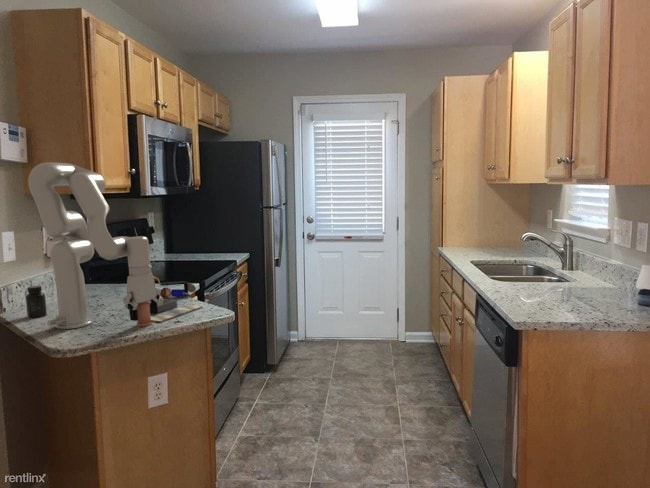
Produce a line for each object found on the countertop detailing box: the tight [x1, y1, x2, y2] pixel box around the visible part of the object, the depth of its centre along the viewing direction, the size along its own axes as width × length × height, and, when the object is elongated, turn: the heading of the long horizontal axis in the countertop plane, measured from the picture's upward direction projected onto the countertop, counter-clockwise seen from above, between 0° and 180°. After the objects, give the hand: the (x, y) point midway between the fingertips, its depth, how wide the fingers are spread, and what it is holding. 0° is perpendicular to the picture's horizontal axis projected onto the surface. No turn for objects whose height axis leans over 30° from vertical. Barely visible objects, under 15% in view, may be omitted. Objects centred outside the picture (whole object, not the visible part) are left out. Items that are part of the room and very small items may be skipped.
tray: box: [135, 298, 178, 315], centre depth 214 cm, size 12×12×3 cm
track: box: [150, 304, 204, 324], centre depth 205 cm, size 24×8×1 cm, turn 154°
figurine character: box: [159, 280, 197, 299], centre depth 236 cm, size 7×8×15 cm
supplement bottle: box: [25, 285, 48, 319], centre depth 210 cm, size 7×7×12 cm
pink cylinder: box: [136, 301, 153, 328], centre depth 190 cm, size 5×5×11 cm
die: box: [148, 296, 164, 306], centre depth 213 cm, size 5×5×5 cm
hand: (144, 316), depth 191 cm, fingers open, 9 cm apart
